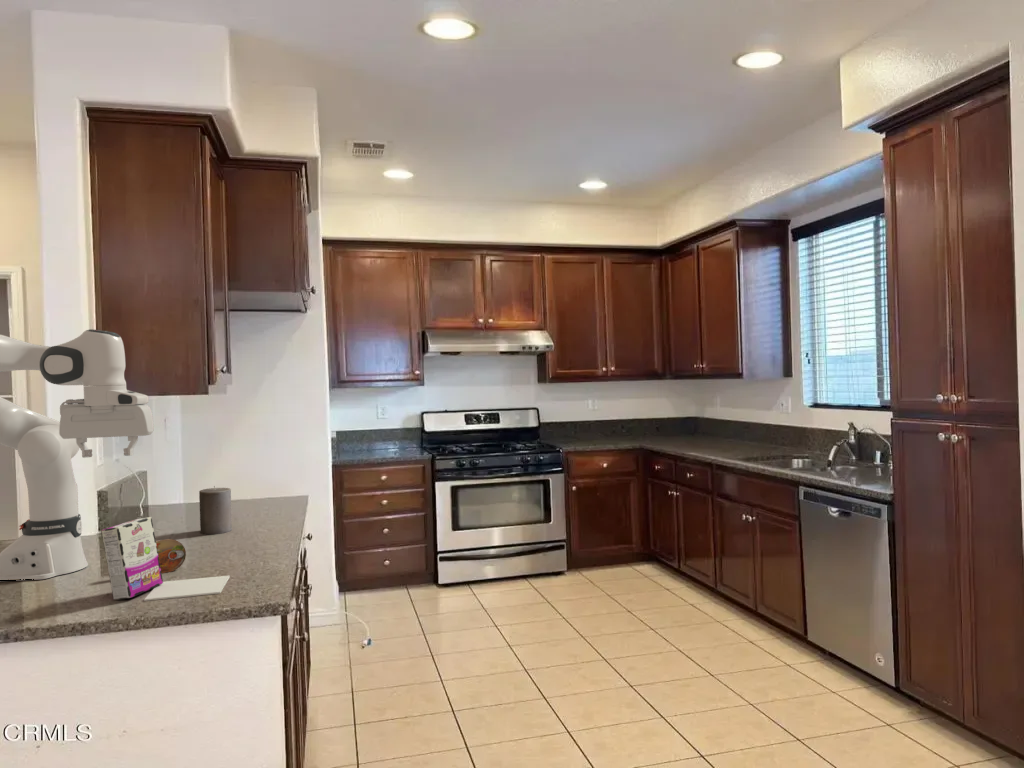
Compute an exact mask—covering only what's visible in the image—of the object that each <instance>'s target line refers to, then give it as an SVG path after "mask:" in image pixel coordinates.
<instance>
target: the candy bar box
mask: <svg viewBox="0 0 1024 768" xmlns="http://www.w3.org/2000/svg"><path fill="white" fill-rule="evenodd" d="M101 537H102V543H103V547H104V549H103V550H104V554H105V559H106V565H107V571H108V577H109V581H110V588H111V593H112V598H113V600H114V601H118V600H126V599H131V598H134V597H136V596H138V595H141V594H143V593H145V592H147V591H150V590H153V589H154V588H155V587H156V586H158V585H161V584H162V583H163V582H164V580H163V576H162V574H163V573H161V568H160V563H159V557H158V552H157V546H156V541H157V540H156V534H155V529H154V524H153V517H152V516H149V517H141V518H136V519H133V520H130V521H126V522H123V523H120V524H117V525H114V526H110V527H107V528H103V529H101Z"/></svg>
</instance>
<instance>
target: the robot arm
mask: <svg viewBox="0 0 1024 768" xmlns="http://www.w3.org/2000/svg"><path fill="white" fill-rule="evenodd" d="M125 352H126V351H125V346H124V341H123V339H122V337H121V335H120V334H118V333H117V332H114V331H109V330H100V329H86V330H84V331H83V332H82V333H81V334H80V335H78V336H77V337H76V338H74V339H72V340H69V341H66V342H64V343H60V344H57V345H53V346H48V345H47V346H46V345H42V344H34V343H31V342H27V341H23V340H21V339H18V338H14V337H10V336H7V335H5V334H1V333H0V373H1V372H3V373H4V372H11V371H12V372H13V371H40V373H41V375H42V377H43V378H44V379H45V381H47V382H48V383H50V384H53V385H57V386H83V398H77V399H73V398H72V399H71V398H70V399H66V400H65V401H63V402H62V403H61V404H60V406H59V414H60V420H59V421H58V420H57V419H54V418H52V417H49V416H47V415H44V414H42V413H39V412H36V411H34V410H31V409H28V408H26V407H23V406H21V405H18V404H16V403H14V402H13V401H10V400H8V399H6V398H4V397H1V396H0V446H3V447H7V448H10V449H13V450H16V451H17V453H18V456H19V458H20V460H21V465H22V471H23V474H24V479H25V482H26V487H27V495H28V515H29V516H28V517H29V519H27V520H25V521H24V522H23V523H22V524H20V525H19V526H18V527H19V529H18V530H19V531H20V530H21V533H22V534H21V535H19V537H17V538H16V539H15V540H14V541H13V542H12V543H10V544H9V545H7V546H6V547H5V548H4V549H3V550H2V551H0V580H8V579H9V580H10V579H21V580H20V581H26V580H25V579H32V580H31V581H33V579H34V580H36V581H37V580H45V579H49V578H53V577H56V576H61V575H66V574H70V573H73V572H77V571H80V570H82V569H85V568H86V567H88V566H89V563H88V561H87V559H86V555H85V551H84V549H83V543H82V537H81V535H82V531H83V530H82V529H83V527H82V526H83V525H82V517H81V514H80V513H79V496H78V495H79V492H78V491H79V490H78V483H77V481H76V479H75V474H74V469H73V465H72V458H74V457H75V456H76V455H77V454H78V452H79V450H81V456H82V458H84V459H85V458H92V457H93V449H92V448H91V449H89V447H88V446H87V444H86V443H87V442H88V439H93V438H94V439H95V438H98V439H99V438H121V437H127V441H128V442H129V443H128V445H127V447H125V448H123V456H124V457H125V456H126V457H130V456H134V448H135V446H136V444H137V443H138V440H139V437H143V436H150V435H151V434H152V433H153V432H154V427H155V425H154V417H153V412H152V409H151V407H150V406H149V405H148V403H149V401H150V400H149V395H147V394H144V393H139V392H136V391H132V390H129V389H127V381H126V379H125V370H126V365H127V364H126V353H125ZM23 579H24V580H23Z"/></svg>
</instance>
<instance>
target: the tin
mask: <svg viewBox="0 0 1024 768" xmlns="http://www.w3.org/2000/svg"><path fill="white" fill-rule="evenodd" d="M156 546H157V552H158V557H159V563H160V568H161V574H166V573H171V572H174V571H176V570H179V568H180V567H182V566H183V564H184V563H185V560H186V556H187V551H186V547H185V546H184V545H183V543H181V542H180V541H178V540H176V539H172V538H166V539H160V540H156Z"/></svg>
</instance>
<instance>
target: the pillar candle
mask: <svg viewBox="0 0 1024 768" xmlns="http://www.w3.org/2000/svg"><path fill="white" fill-rule="evenodd" d="M231 491H232V488H229V487H215V485H214V486H213V487H209V488H203V489H201V490H199V491H198V492H199V493H198V496H199V498H198V499H199V525H200V527H199V528H200V532H199V534H201V535H208V536H209V535H219V534H225V533H229V532H231V531H232V530H233V529H232V526H233V525H232V521H233V518H232V493H231Z"/></svg>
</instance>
